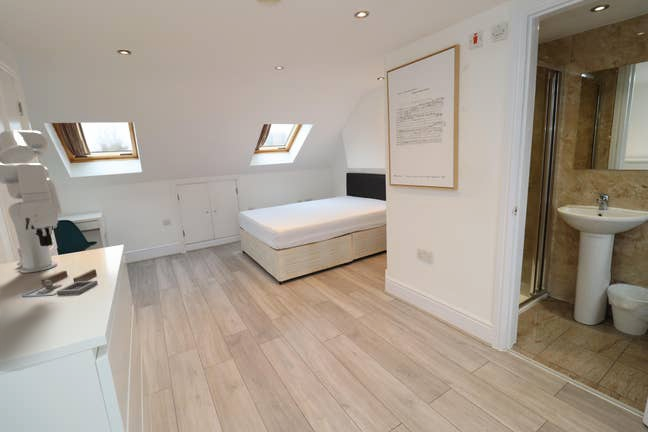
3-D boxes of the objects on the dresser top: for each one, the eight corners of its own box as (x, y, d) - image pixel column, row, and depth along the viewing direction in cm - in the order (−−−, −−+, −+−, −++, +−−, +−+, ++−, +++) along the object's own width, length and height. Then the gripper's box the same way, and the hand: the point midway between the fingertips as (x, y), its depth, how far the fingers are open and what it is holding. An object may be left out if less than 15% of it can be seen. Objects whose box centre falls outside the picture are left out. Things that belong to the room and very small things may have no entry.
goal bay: (19, 297, 109) (19, 296, 109) (42, 286, 118) (42, 286, 118) (52, 295, 109) (52, 294, 109) (73, 285, 118) (73, 284, 118)
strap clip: (43, 295, 110) (41, 284, 109) (35, 296, 110) (32, 285, 109) (63, 286, 118) (61, 276, 117) (55, 286, 118) (53, 276, 117)
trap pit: (57, 295, 109) (56, 291, 109) (77, 285, 118) (76, 281, 117) (79, 294, 109) (78, 290, 109) (97, 284, 118) (97, 280, 117)
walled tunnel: (42, 285, 119) (41, 279, 118) (64, 276, 128) (62, 270, 128) (78, 284, 119) (76, 278, 118) (96, 274, 128) (95, 269, 128)
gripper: (44, 195, 118) (54, 240, 121) (5, 200, 103) (17, 251, 107) (63, 194, 118) (72, 239, 121) (27, 200, 103) (38, 251, 107)
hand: (46, 245), depth 114 cm, fingers closed
